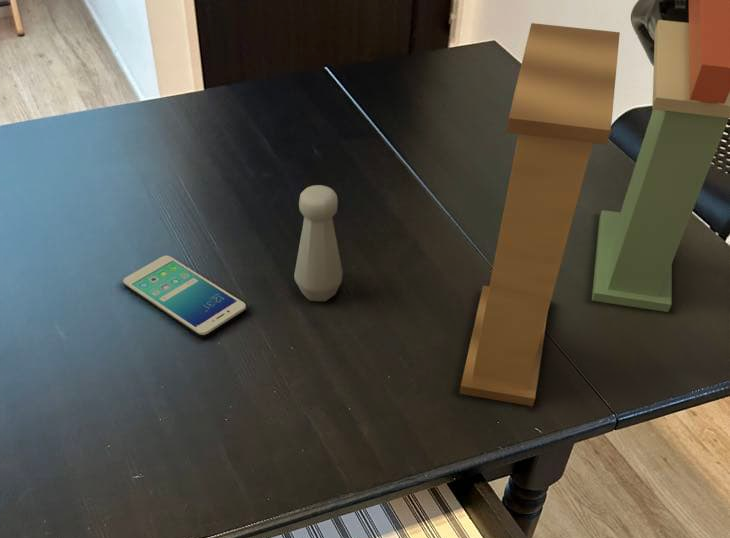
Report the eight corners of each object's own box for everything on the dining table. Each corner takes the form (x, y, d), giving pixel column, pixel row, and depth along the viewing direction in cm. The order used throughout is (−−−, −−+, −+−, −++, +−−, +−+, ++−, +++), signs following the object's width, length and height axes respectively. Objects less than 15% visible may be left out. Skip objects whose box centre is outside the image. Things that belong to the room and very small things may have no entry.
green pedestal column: (599, 217, 110) (658, 19, 90) (668, 227, 108) (743, 28, 89) (591, 300, 99) (656, 96, 80) (668, 312, 98) (752, 108, 79)
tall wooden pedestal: (481, 293, 100) (531, 22, 76) (547, 303, 99) (619, 32, 75) (459, 393, 90) (508, 117, 66) (533, 406, 89) (610, 130, 64)
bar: (688, -19, 94) (698, -51, 91) (717, -16, 93) (728, -49, 90) (689, 99, 78) (702, 64, 75) (724, 104, 77) (738, 68, 75)
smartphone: (166, 253, 103) (249, 305, 97) (167, 259, 104) (249, 310, 98) (119, 280, 100) (201, 335, 94) (121, 285, 101) (202, 341, 95)
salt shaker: (288, 300, 99) (284, 201, 89) (303, 273, 103) (300, 173, 92) (334, 310, 98) (336, 210, 88) (348, 281, 101) (351, 182, 91)
